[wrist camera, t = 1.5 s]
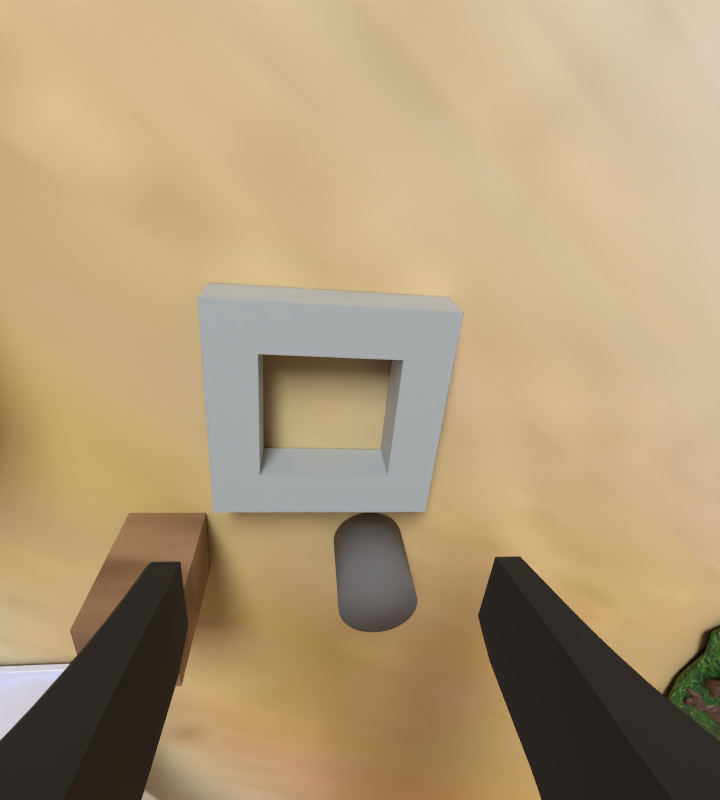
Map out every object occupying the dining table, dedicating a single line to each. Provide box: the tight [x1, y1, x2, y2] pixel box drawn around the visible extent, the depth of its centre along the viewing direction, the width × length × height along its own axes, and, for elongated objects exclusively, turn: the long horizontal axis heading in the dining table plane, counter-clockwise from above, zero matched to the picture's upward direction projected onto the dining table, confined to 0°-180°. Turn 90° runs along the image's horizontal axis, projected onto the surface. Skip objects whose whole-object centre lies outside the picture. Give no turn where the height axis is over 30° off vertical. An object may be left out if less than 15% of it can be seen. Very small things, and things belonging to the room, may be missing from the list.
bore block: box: [198, 283, 463, 512], centre depth 19 cm, size 9×9×2 cm
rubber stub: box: [334, 513, 417, 632], centre depth 22 cm, size 3×3×4 cm
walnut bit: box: [70, 513, 210, 686], centre depth 20 cm, size 3×3×6 cm
